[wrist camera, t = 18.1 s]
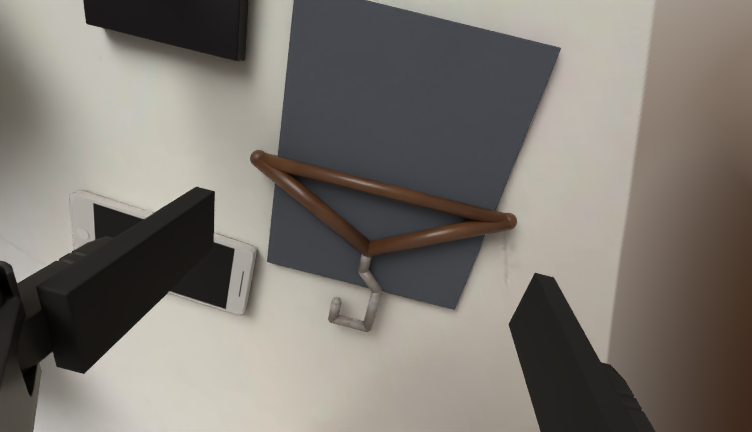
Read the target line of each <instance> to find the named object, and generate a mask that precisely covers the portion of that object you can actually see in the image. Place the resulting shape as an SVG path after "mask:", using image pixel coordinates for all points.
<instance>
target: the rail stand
mask: <svg viewBox="0 0 752 432" xmlns="http://www.w3.org/2000/svg"><path fill="white" fill-rule="evenodd" d="M83 1H84V10H85V18H86V23H87V24H89V25H93V26H97V27H101V28H105V29H109V30H113V31H117V32H121V33H125V34H129V35H133V36H137V37H141V38H145V39H149V40H153V41H157V42H161V43H165V44H169V45H174V46H178V47H182V48H186V49H190V50H194V51H198V52H202V53H206V54H210V55H214V56H218V57H222V58H226V59H230V60H234V61H244V60H245V53H246V34H247V16H248V0H83Z"/></svg>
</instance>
